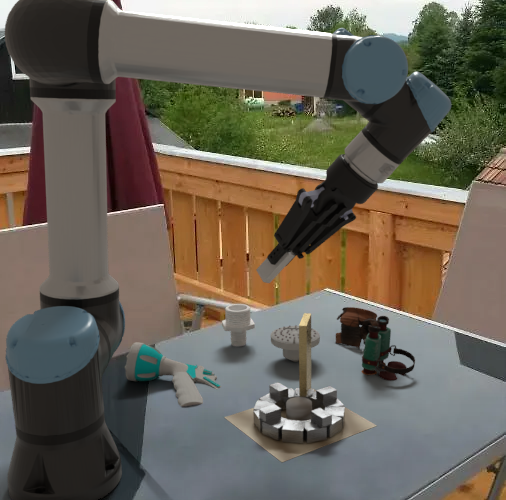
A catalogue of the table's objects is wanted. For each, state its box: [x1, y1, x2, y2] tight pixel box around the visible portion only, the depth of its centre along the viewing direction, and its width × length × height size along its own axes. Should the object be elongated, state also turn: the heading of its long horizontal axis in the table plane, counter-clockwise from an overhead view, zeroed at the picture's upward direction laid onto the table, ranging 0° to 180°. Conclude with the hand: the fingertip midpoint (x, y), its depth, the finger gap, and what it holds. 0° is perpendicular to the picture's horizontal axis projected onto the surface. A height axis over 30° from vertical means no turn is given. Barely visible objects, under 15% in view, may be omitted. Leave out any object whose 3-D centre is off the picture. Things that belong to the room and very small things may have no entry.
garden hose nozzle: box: [124, 341, 222, 408], centre depth 120 cm, size 7×18×20 cm
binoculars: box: [361, 315, 416, 381], centre depth 121 cm, size 9×11×10 cm
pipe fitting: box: [221, 303, 255, 348], centre depth 139 cm, size 6×7×8 cm
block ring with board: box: [253, 312, 345, 443], centre depth 104 cm, size 18×14×14 cm
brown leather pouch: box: [335, 306, 378, 349], centre depth 139 cm, size 12×10×8 cm
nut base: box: [223, 388, 378, 463], centre depth 104 cm, size 18×16×4 cm
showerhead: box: [270, 324, 321, 362], centre depth 127 cm, size 9×7×10 cm
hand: (262, 276), depth 107 cm, fingers closed
